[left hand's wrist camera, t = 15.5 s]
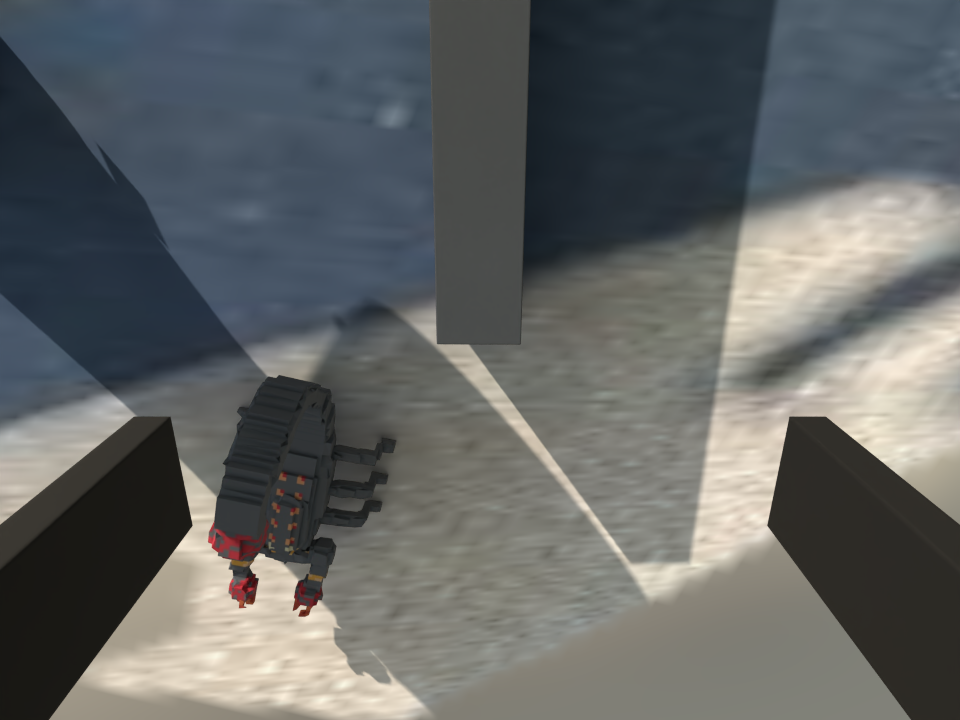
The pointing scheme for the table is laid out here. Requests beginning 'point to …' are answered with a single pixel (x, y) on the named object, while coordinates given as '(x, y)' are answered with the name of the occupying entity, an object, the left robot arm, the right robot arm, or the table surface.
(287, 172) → the table surface
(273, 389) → the toy
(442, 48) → the beam
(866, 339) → the table surface
